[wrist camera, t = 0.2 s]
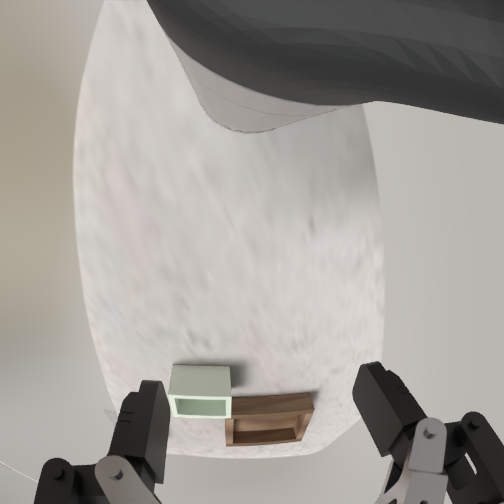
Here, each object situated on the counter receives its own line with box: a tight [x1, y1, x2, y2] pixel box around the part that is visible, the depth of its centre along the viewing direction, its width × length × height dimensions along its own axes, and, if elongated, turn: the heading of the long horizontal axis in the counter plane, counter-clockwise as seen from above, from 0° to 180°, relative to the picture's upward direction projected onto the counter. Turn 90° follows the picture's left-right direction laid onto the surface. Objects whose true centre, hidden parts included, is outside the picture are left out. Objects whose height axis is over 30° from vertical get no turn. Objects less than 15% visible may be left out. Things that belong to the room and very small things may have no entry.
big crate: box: [225, 393, 314, 446], centre depth 35 cm, size 10×12×3 cm
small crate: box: [168, 364, 232, 418], centre depth 30 cm, size 5×7×5 cm, turn 86°
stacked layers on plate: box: [104, 409, 118, 430], centre depth 34 cm, size 10×9×6 cm
